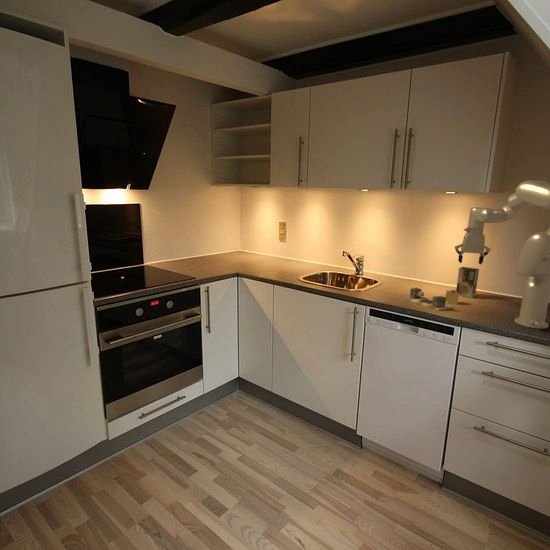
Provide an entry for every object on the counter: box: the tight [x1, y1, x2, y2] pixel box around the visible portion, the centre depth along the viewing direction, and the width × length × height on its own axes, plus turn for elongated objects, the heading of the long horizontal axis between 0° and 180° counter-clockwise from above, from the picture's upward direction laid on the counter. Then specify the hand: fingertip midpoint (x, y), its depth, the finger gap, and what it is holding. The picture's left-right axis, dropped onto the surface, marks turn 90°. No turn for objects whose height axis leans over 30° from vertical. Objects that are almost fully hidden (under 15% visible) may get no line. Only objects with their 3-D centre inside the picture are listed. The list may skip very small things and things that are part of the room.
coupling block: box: [445, 289, 460, 305], centre depth 196 cm, size 5×5×7 cm
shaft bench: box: [404, 287, 453, 312], centre depth 193 cm, size 21×11×6 cm, turn 28°
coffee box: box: [455, 266, 480, 299], centre depth 210 cm, size 9×6×16 cm
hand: (470, 263), depth 196 cm, fingers open, 9 cm apart
